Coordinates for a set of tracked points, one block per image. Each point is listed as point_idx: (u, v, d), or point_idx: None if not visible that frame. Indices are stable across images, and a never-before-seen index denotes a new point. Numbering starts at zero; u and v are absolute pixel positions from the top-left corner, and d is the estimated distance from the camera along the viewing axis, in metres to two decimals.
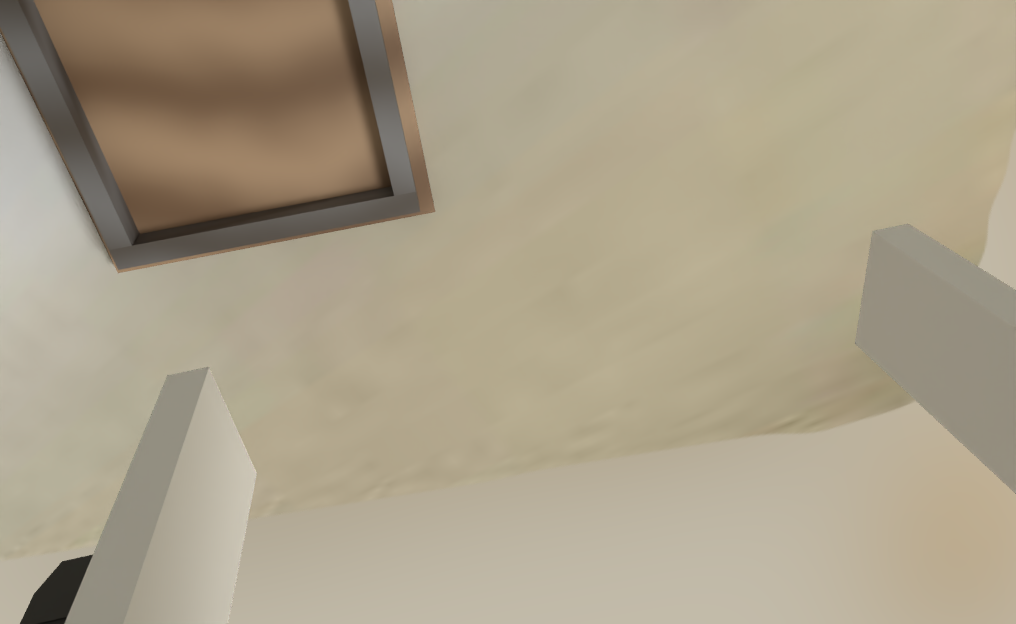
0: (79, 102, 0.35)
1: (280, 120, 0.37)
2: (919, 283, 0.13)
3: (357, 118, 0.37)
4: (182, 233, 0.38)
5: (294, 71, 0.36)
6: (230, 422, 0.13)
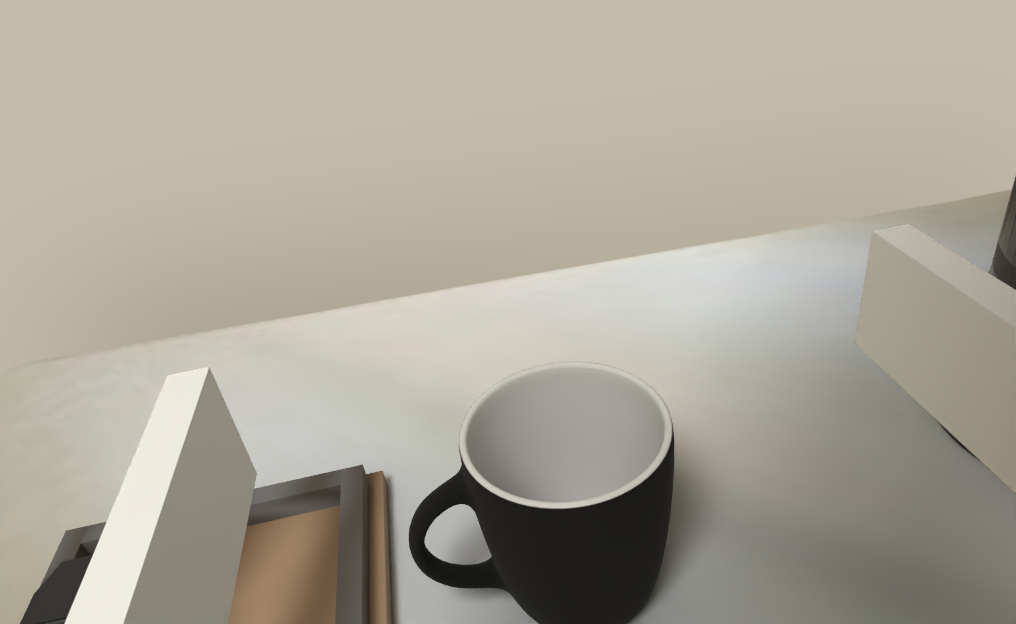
0: None
1: None
2: (919, 283, 0.13)
3: None
4: None
5: None
6: (230, 422, 0.13)
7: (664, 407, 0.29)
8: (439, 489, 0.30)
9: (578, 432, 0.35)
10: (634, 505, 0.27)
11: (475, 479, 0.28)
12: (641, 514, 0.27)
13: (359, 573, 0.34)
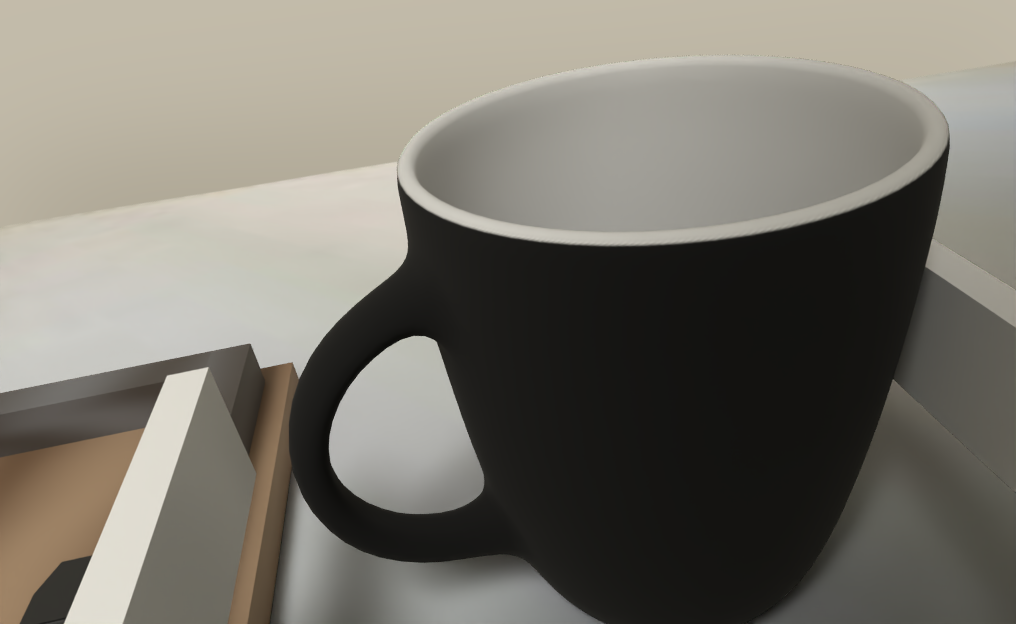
0: None
1: None
2: None
3: None
4: None
5: None
6: (230, 422, 0.13)
7: (872, 73, 0.13)
8: (356, 307, 0.12)
9: None
10: (912, 237, 0.10)
11: (456, 225, 0.10)
12: (912, 275, 0.10)
13: None
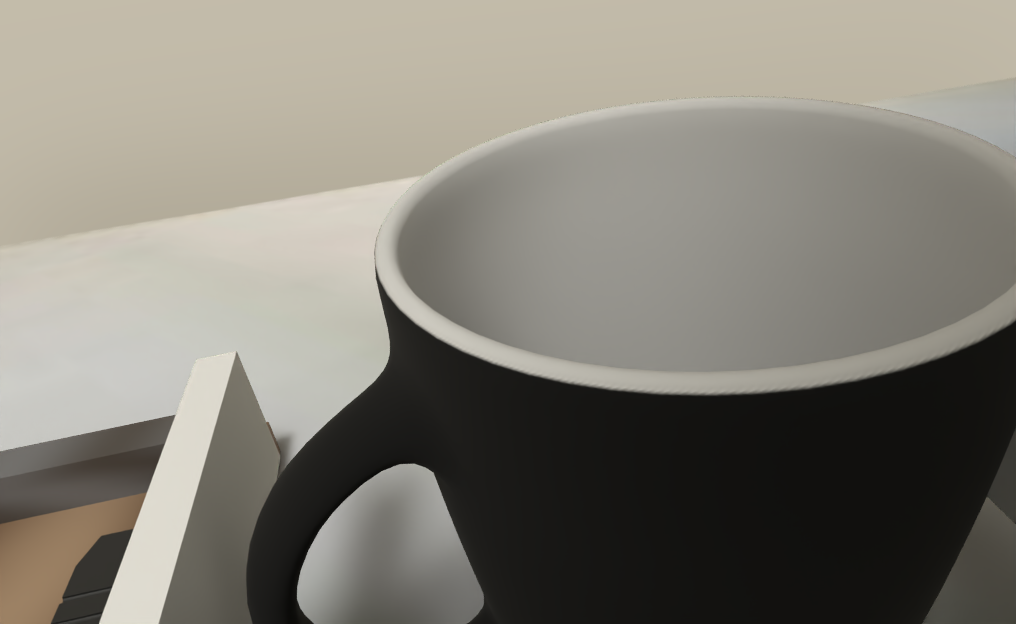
0: None
1: None
2: None
3: None
4: None
5: None
6: (256, 405, 0.14)
7: (939, 124, 0.11)
8: (328, 430, 0.09)
9: (637, 295, 0.16)
10: None
11: (454, 350, 0.08)
12: None
13: None
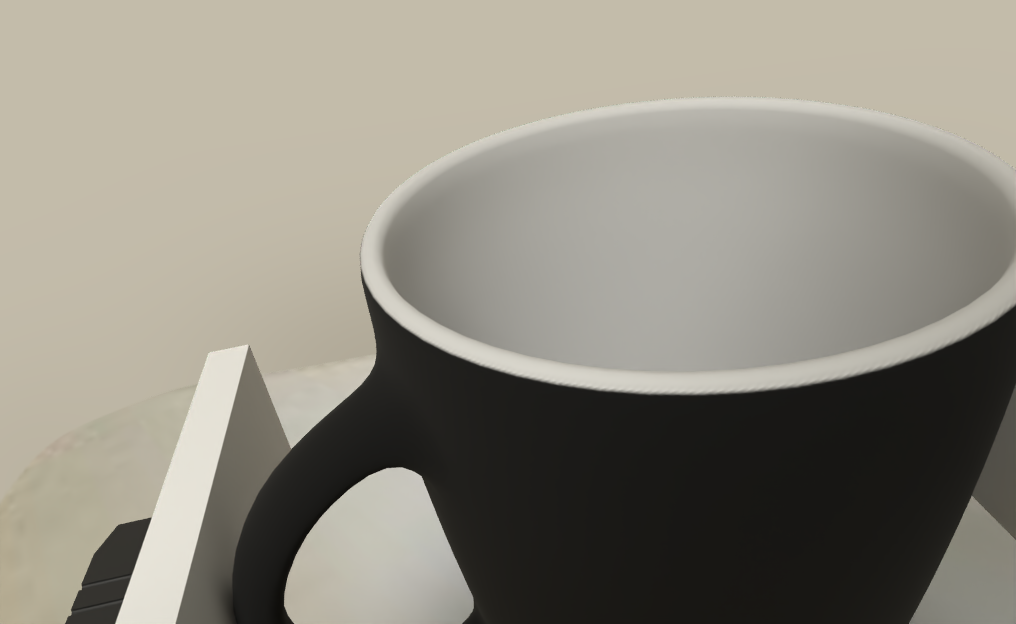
0: None
1: None
2: None
3: None
4: None
5: None
6: (268, 398, 0.14)
7: (922, 123, 0.11)
8: (314, 434, 0.09)
9: (624, 296, 0.15)
10: None
11: (442, 351, 0.07)
12: (1012, 391, 0.08)
13: None
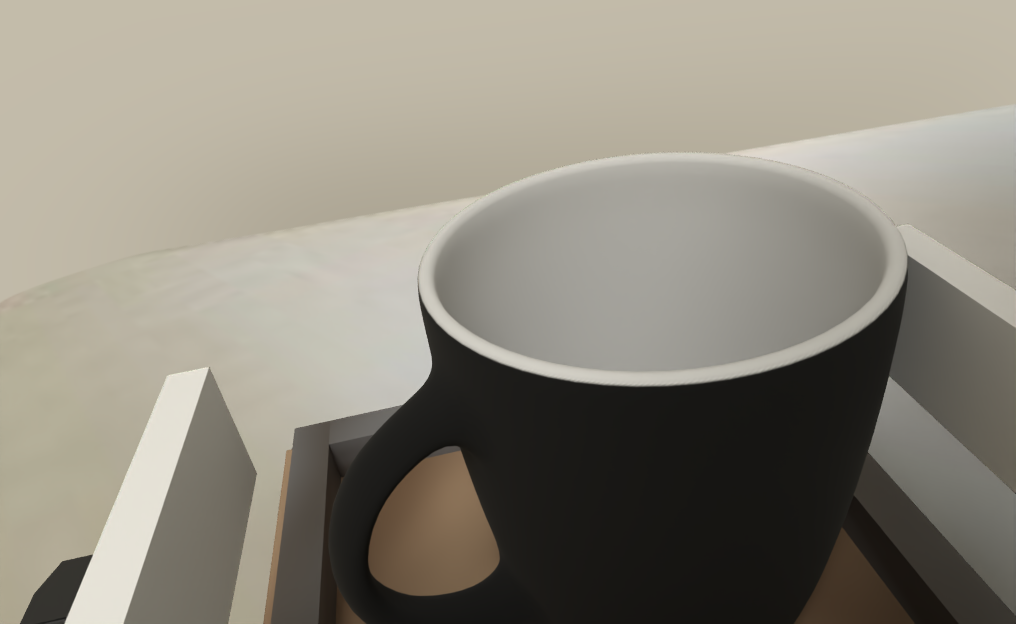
0: None
1: None
2: (919, 283, 0.13)
3: None
4: (329, 510, 0.21)
5: None
6: (230, 422, 0.13)
7: (831, 179, 0.14)
8: (391, 424, 0.13)
9: (610, 308, 0.19)
10: (885, 351, 0.11)
11: (493, 361, 0.11)
12: (884, 377, 0.12)
13: (883, 475, 0.19)
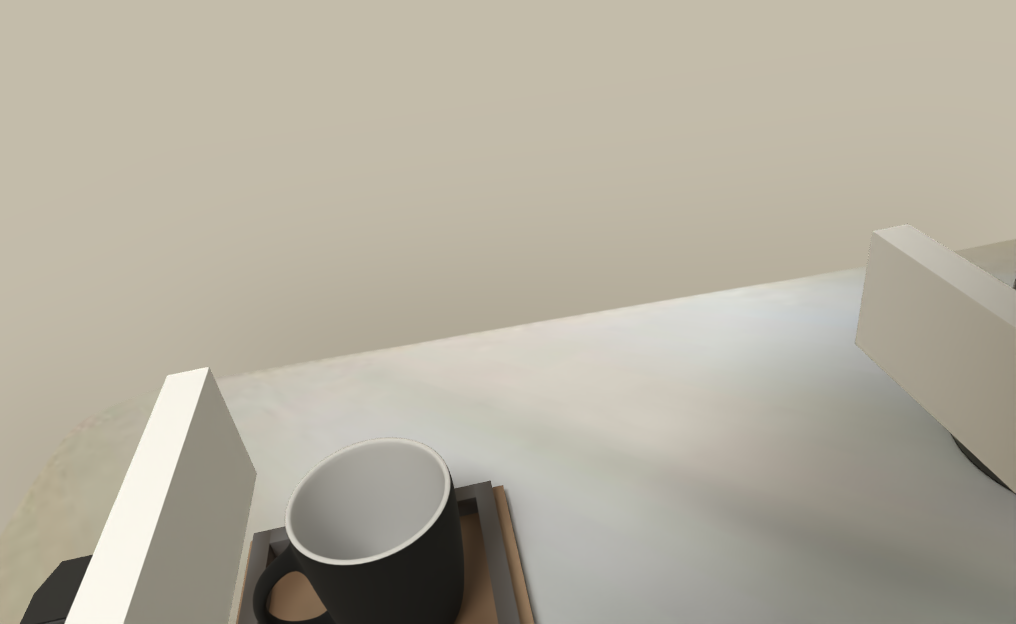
0: None
1: None
2: (919, 283, 0.13)
3: None
4: None
5: None
6: (230, 422, 0.13)
7: (445, 467, 0.38)
8: (273, 563, 0.37)
9: (388, 493, 0.43)
10: (424, 548, 0.35)
11: (299, 551, 0.35)
12: (431, 554, 0.36)
13: (506, 568, 0.43)
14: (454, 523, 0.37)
